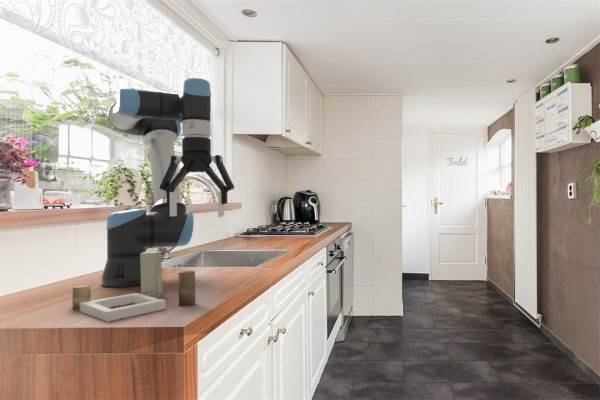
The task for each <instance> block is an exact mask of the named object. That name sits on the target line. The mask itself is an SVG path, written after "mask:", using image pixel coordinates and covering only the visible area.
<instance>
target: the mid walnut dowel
mask: <svg viewBox="0 0 600 400" xmlns="http://www.w3.org/2000/svg"><path fill="white" fill-rule="evenodd" d="M177 276H178V306H180V307H190V306H191V307H192V306H194V305H196V271H195V270H182V271H178V275H177Z"/></svg>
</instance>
